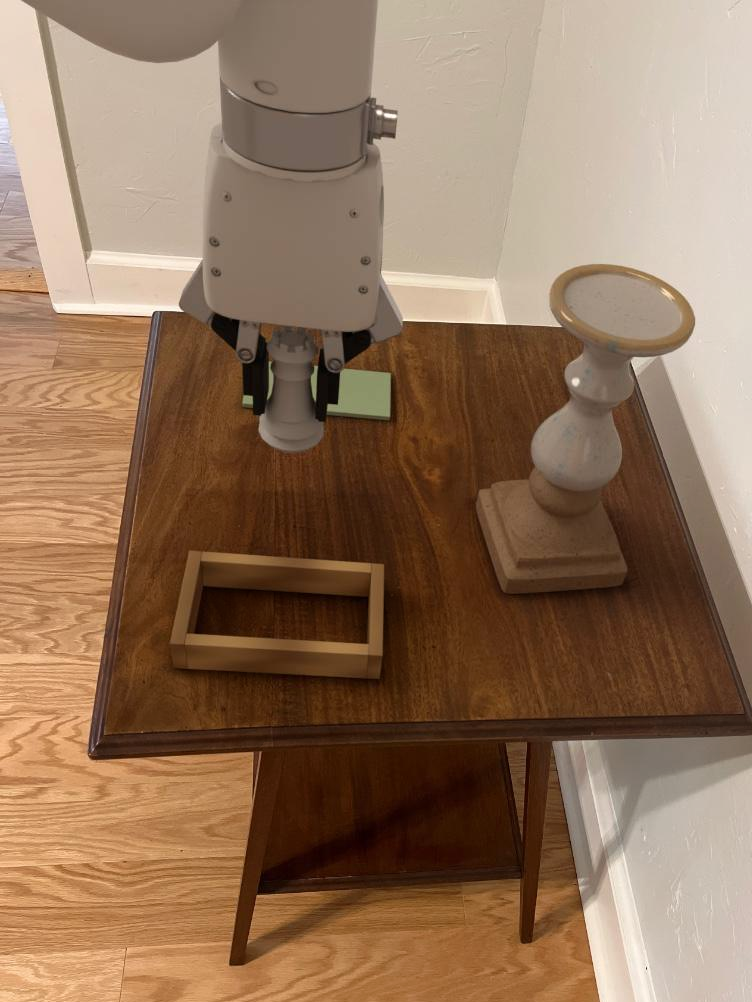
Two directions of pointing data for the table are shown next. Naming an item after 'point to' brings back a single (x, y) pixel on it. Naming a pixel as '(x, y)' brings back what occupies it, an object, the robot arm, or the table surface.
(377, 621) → the rectangular wooden frame
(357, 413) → the mat
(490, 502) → the candle holder
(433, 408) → the table surface
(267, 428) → the rook chess piece
